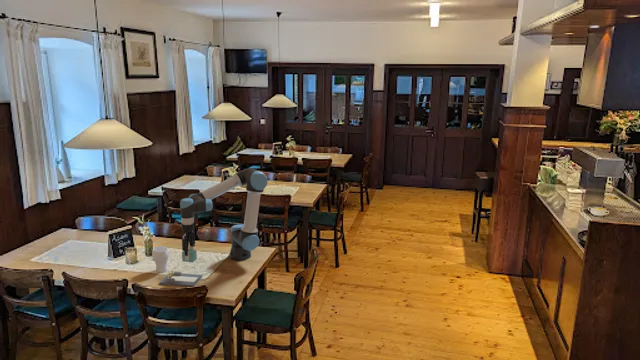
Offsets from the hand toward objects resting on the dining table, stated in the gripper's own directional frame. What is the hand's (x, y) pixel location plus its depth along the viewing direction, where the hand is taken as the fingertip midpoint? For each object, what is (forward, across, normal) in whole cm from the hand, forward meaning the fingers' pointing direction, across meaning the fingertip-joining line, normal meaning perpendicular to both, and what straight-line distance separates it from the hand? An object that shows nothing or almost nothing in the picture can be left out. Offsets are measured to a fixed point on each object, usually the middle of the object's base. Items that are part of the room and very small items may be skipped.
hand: (189, 257), depth 282 cm
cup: (+14, -7, -24) cm, 28 cm away
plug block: (+1, 0, 0) cm, 1 cm away
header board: (+14, +5, -4) cm, 15 cm away
